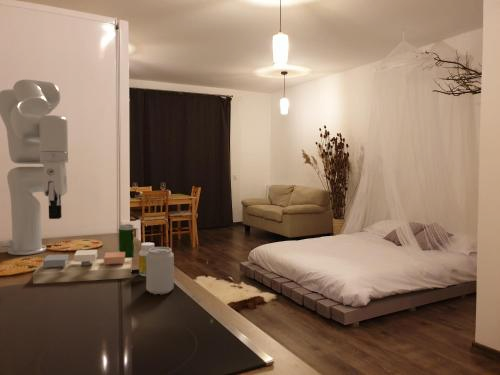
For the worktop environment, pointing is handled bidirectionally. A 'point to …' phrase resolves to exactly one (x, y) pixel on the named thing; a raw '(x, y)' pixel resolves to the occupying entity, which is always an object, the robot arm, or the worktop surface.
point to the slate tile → (55, 261)
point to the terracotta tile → (114, 258)
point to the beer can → (126, 240)
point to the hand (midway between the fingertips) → (55, 218)
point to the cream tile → (85, 256)
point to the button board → (83, 272)
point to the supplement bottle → (144, 257)
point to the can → (160, 270)
